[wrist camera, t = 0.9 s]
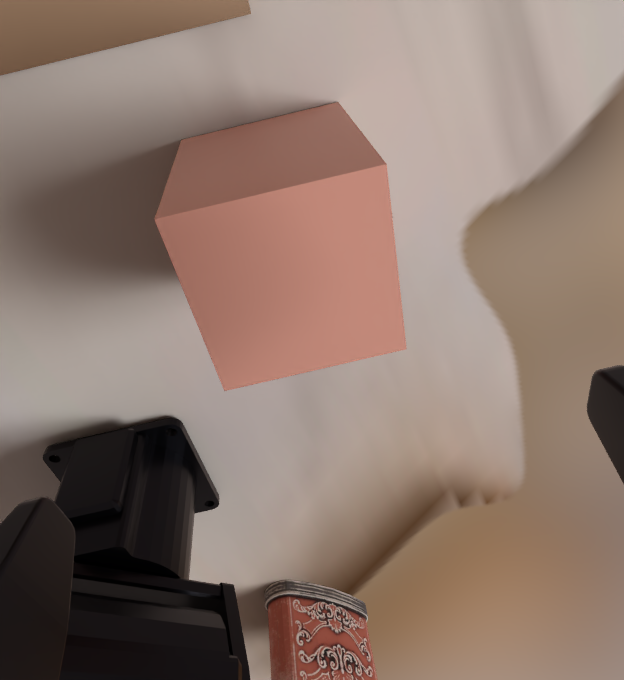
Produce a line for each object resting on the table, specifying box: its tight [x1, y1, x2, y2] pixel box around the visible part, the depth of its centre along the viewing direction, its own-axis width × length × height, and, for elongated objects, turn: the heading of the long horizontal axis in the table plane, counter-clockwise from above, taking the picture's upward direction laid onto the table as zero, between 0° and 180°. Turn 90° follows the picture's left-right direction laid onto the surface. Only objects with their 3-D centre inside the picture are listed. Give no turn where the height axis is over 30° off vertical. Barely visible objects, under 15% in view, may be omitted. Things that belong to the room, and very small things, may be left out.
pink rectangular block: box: [154, 102, 406, 391], centre depth 15 cm, size 5×5×7 cm
